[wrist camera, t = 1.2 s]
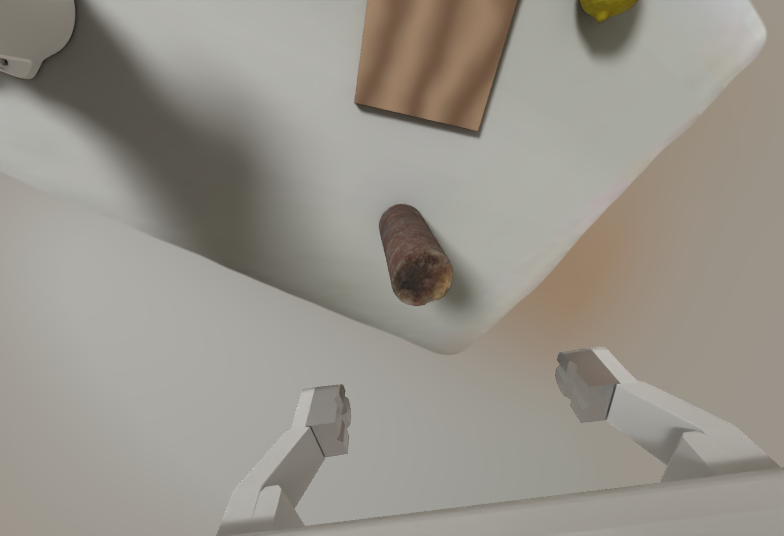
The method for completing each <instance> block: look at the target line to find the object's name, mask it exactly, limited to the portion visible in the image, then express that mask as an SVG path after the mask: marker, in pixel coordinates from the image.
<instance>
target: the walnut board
mask: <svg viewBox="0 0 784 536" xmlns="http://www.w3.org/2000/svg"><path fill="white" fill-rule="evenodd" d="M516 3H517V0H367V8H366V16H365V24H364V32H363V39H362V47H361V55H360V63H359V71H358V78H357V86H356V94H355V102H354V103H358V104H362V105H367V106H371V107H375V108H380V109H384V110H388V111H393V112H397V113H401V114H406V115H410V116H414V117H419V118H423V119H427V120H432V121H436V122H440V123H445V124H449V125H453V126H458V127H462V128H466V129H471V130H475V131H478V129H479V126H480V123H481V119H482V116H483V113H484V109H485V106H486V103H487V99H488V96H489V93H490V90H491V86H492V83H493V80H494V76H495V73H496V70H497V66H498V63H499V60H500V56H501V53H502V50H503V46H504V43H505V40H506V37H507V33H508V30H509V27H510V23H511V20H512V17H513V13H514V10H515V7H516Z"/></svg>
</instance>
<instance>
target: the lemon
mask: <svg viewBox="0 0 784 536" xmlns="http://www.w3.org/2000/svg"><path fill="white" fill-rule="evenodd" d="M637 1H638V0H580V4H581V7H582V8H583V10H584V11H585V12H586V13H588V14H589V15H591V16H593V17H594V18H595V19H596V21H597V22H598V23H600V22H603V21H604V20H606V19H607V18H609V17H611V16H615V15H618V14H620V13H623V12H625V11H626V10H628V9H629V8H631V7H632V6H633V5H634V4H635V3H636V2H637Z"/></svg>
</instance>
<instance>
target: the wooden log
mask: <svg viewBox="0 0 784 536" xmlns="http://www.w3.org/2000/svg"><path fill="white" fill-rule="evenodd" d="M379 230H380V235H381V240H382V244H383V248H384V252H385V256H386V261H387V266H388V271H389V275H390V279H391V285H392V289H393V291H394V293H395V295H396V296H397V297H398V299H399V300H401V301H402V302H404V303H406V304H408V305H414V306H420V305H425V304H426V303H428V302H430V301H433V300H439V299H440V298H442V297H443V296H445V294H446V293H447V291H448V290H449V289H450V288H451V284H452V278H453V270H452V266H451V264H450V261H449V259H448V258H447V256H446V254H445V253H444V251H443V250H442V248H441V247H440V245H439V243H438V242H437V240H436V238H435V237H434V235H433V234H432V232H431V231H430V229H429V227H428V225H427V224H426V222H425V221H424V219H423V217H422V216H421V214H420V213H419V211H418V210H416V209H415V208H414V207H412V206H409V205H406V204H398V205H394V206H392V207H390V208H389V209H388V210H387V211H385V212H384V213H383V215H382V217H381V219H380V222H379Z"/></svg>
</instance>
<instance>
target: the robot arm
mask: <svg viewBox="0 0 784 536" xmlns="http://www.w3.org/2000/svg"><path fill="white" fill-rule="evenodd" d="M74 24H75V4H74V0H0V71H1V72H4V73H7V74H9V75H12V76H15V77H18V78H23V79H32V78H33V77H34V76H35V75H36V74H37V72H38V70H39V68H40V66H41V63H42V61H43V60H45V59H46V58H47V57H49V56H51V55H53V54H55V53H57V52H58V51H60V50H61V49H62V48H63V47H64V46H65V45H66V44H67V42H68V41H69V39H70V37H71V35H72V32H73V29H74ZM5 59H6V60H7V61H8V65H7V64H6V62H5ZM557 361H558V362H559V364H560V365H559V366H558V367H557V368H556V375H555V376H556V381H557V384H558V386H559V388H560V390H561V392H562V393H563V395H564V396H566V397H568V398H569V399H571V404H570V406H571V407H572V409H573V411H574V412H575V414H576V415H577V417H578V418H579V420H580V422H581V423H582V422H592V421H602V420H607V422H608V423H609V424H611V425H612V426H614V427H615V428H616V429H618V430H619V431H620V432H622V433H623V434H625V435H626V436H627V437H629V438H630V439H632V440H633V441H634V442H636V443H637V444H638V445H640V446H642V447H643V448H644V449H645V450H647V451H648V452H649V453H651V454H652V455H654V456H655V457H657V458H658V459H659V460H661V461H662V462H663V463H665V464H666V465H667V467H666V469H665V471H664V473H663V475H662V478H661V483H653V484H645V485H637V486H629V487H621V488H613V489H604V490H596V491H588V492H580V493H571V494H563V495H555V496H547V497H538V498H530V499H522V500H513V501H505V502H497V503H489V504H481V505H473V506H465V507H456V508H448V509H440V510H432V511H424V512H416V513H409V514H400V515H392V516H383V517H375V518H367V519H359V520H351V521H343V522H334V523H326V524H319V525H310V526H305V525H304V524H303V522H302V521H301V519H300V517H299V516H298V514H297V513H296V511H295V507H296V505H297V504H298V502H299V500H300V499H301V497H302V496H303V494H304V492H305V491H306V489H307V487H308V486H309V484H310V482H311V481H312V479H313V478H314V476H315V474H316V473H317V471H318V469H319V468H320V466H321V464H322V463H323V461H324V460H325V458H324V457H329V456H336V455H342V454H347V453H348V443H349V434H348V431H347V428H348V427H349V425H350V422H351V421H350V420H351V408H350V403H349V400H348V398H347V397H345V389H344V386H343V385H332V386H323V387H316V388H308V389H303V391H302V392H301V395H300V398H299V402H298V405H297V409H296V413H295V416H294V420H293V424H292V427H291V429H289V430H286V431H285V433H284V434H283V435H282V436H281V437H280V438H279V439H278V440H277V442H276V443H275V444H274V445H273V446H272V447H271V449H270V450H269V451H268V452H267V453H266V454H265V455H264V456H263V457H262V459H261V460H260V461H259V462H258V463H257V464H256V465H255V466H254V468H253V469H252V470H251V471H250V472H249V473H248V474H247V475H246V477H245V478H244V479H243V480H242V481H241V482H240V483H239V485H238V486H237V487H236V488H235V489H234V491H233V494H232V496H231V499H230V501H229V504H228V507H227V509H226V512H225V515H224V517H223V520H222V522H221V525H220V527H219V530H218V533H217V535H216V536H784V467H783V468H781V467H780V466H779V465H778V464H777V463H775V461H773V460H772V459H771V458H770V457H769V456H768V455H767V454H766V453H765V452H763V451H762V450H761V449H760V448H759V447H758V446H756V444H754V443H753V442H752V441H751V440H750V439H749V438H748V437H747V436H746V435H744V434H743V433H742V432H741V431H740V430H739V429H738V428H737V427H736V426H734V425H733V424H731V423H729V422H726V421H724V420H722V419H720V418H718V417H716V416H714V415H712V414H710V413H708V412H706V411H703V410H701V409H699V408H697V407H695V406H693V405H691V404H689V403H687V402H685V401H683V400H681V399H679V398H676V397H675V396H672V395H670V394H668V393H666V392H664V391H662V390H660V389H658V388H656V387H654V386H652V385H649V384H647V383H645V382H643V381H636V379H635V378H634V377H633V376H632V375H631V374H630V373H629V372H628V371H627V370H626V369H625V368H624V367H623V366H622V365H621V364H620V363H619V361H618V360H617V359H616V358H615V357H614V356H613V355H612V354H611V353H610V352H609V351H608V350H607V349H606V348H605V347H603V346H601V347H594V348H588V349H579V350H573V351H567V352H561V353H559V355H558V359H557Z"/></svg>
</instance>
